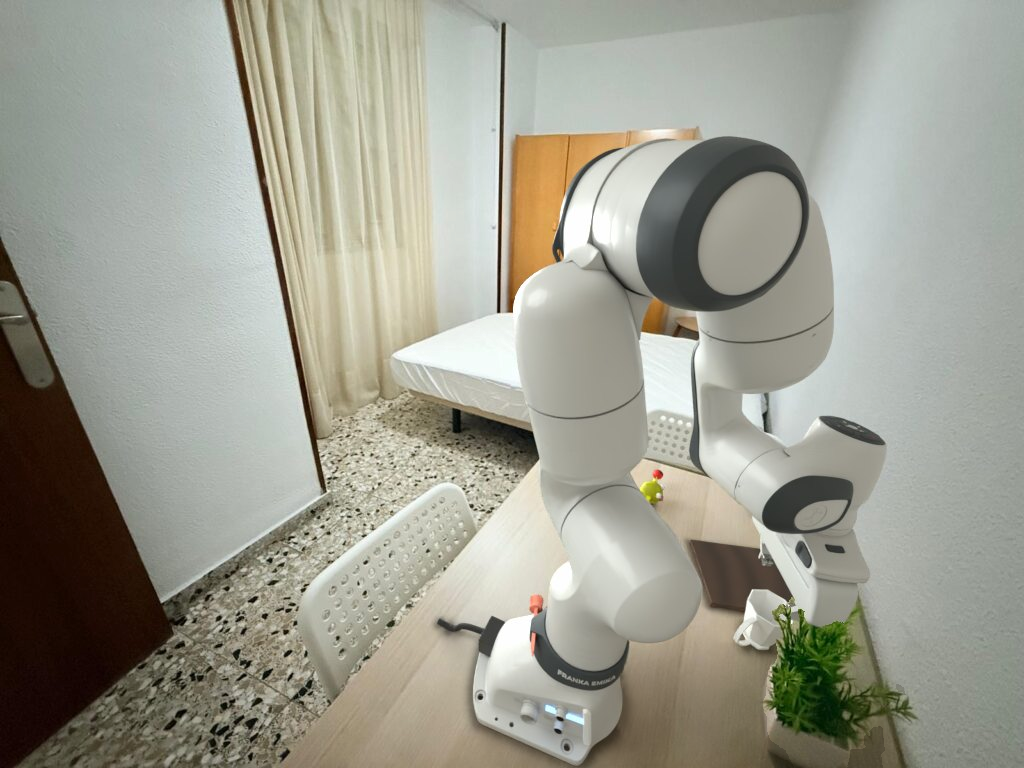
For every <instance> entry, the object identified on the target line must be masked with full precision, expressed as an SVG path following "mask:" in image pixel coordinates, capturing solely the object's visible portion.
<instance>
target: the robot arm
mask: <svg viewBox="0 0 1024 768" xmlns="http://www.w3.org/2000/svg"><path fill="white" fill-rule="evenodd" d="M558 250H559V251H560V254H561V256H562V259H561V256H560V255H559V252H558ZM551 251H552V252H551V253H552V255H553V257H554V260H555V263H552V264H549V265H547V266H545V267H542V268H541V269H539V270H538V271H536V272H534V273H533V274H532V275H531V276H529V278H527V279H526V280H525V281H524V282H523V284H521V286H520V288H519V289H518V291H517V293H516V294H515V299H514V302H513V332H514V347H515V355H516V363H517V369H518V374H519V375H518V376H519V380H520V385H521V391H522V395H523V398H524V402H525V405H526V410H527V413H528V417H529V421H530V425H531V430H532V433H533V437H534V441H535V445H536V449H537V453H538V454H537V455H538V458H539V464H538V467H537V481H538V486H539V490H540V494H541V498H542V503H543V506H544V508H545V511H546V513H547V514H548V516H549V519H550V520H551V522H552V525H553V527H554V529H555V531H556V534H557V535H558V538H559V539H560V541H561V543H562V546H563V548H564V550H565V553H566V556H567V560H568V561H566V562H565V563H563V564H561V566H559V567H558V568H557V569H556V570H555V572H554V573H553V575H552V577H551V579H550V582H549V589H548V595H547V596H548V597H547V606H546V607H544V609H543V606H544V600H545V599H544V597H543V596H542V595H540V594H532V595H531V596H530V598H529V607H528V609H529V612H531V613H532V614H528V615H523V616H518V617H513V618H510V619H508V620H507V621H505V620H502V619H500V618H499V617H496V616H494V615H491V616H490V617H489V619H488V621H487V623H486V624H485V627H482V626H479V625H475V624H472V623H468V622H460V623H458V624H456V625H455V624H452V623H449V622H447V621H446V620H445V619H443V618H438V620H437V623H436V625H438V626H439V627H442V628H443V629H445V630H447V631H450V632H453V633H457V632H460V631H461V630H464V631H469V632H472V633H475V634H478V635H480V636H479V638H478V652H479V653H478V656H477V661H476V665H475V671H474V675H473V684H472V704H473V711H474V714H475V717H476V720H477V721H478V723H479V724H481V725H482V726H484V727H487V728H489V729H491V730H494V731H495V732H498V733H500V734H502V735H504V736H507V737H509V738H512V739H513V740H516V741H518V742H520V743H522V744H525V745H527V746H529V747H532V748H533V749H536V750H538V751H540V752H543V753H545V754H546V755H550V756H552V757H554V758H556V759H558V760H561V761H563V762H565V763H567V764H570V765H571V766H575V767H576V766H577V767H578V766H580V765H581V764H582V763H584V761H585V760H586V758H587V757H588V755H589V753H590V751H591V750H592V748H593V747H594V746H595V745H597V744H599V742H601V741H602V740H604V739H606V738H608V736H609V735H610V734H612V732H613V731H614V729H615V728H616V726H617V725H618V723H619V721H620V718H621V716H622V711H623V706H624V705H623V703H624V702H623V701H624V695H623V689H622V683H621V676H622V674H623V673H624V670H625V667H626V666H625V665H627V663H628V658H629V651H630V642H633V643H638V644H657V643H658V644H659V643H662V642H666V641H669V640H671V639H673V638H675V637H676V636H678V635H680V634H681V633H683V632H684V631H685V630H686V629H687V628H688V627H689V626H690V625H691V623H692V622H693V620H694V619H695V617H696V615H697V613H698V611H699V609H700V605H701V602H702V597H703V589H704V586H703V583H702V580H701V577H700V574H698V573H699V572H698V570H696V567H695V566H694V564H693V561H692V560H691V558H690V556H689V554H688V552H687V551H686V548H685V547H684V545H683V543H682V541H681V540H680V537H678V535H677V534H676V533H675V531H674V530H673V529H672V528H671V526H669V524H668V523H667V522H666V520H665V519H664V518H663V517H662V515H660V514H659V512H658V511H657V510H656V508H655V507H654V506H653V505H651V504H650V503H649V501H648V500H647V499H646V498H645V497H644V495H643V493H642V492H641V491H640V488H639V486H638V485H637V483H636V481H635V479H634V477H633V476H632V474H631V472H632V471H633V470H634V469H635V468H636V467H637V466H638V465H639V464H640V463H641V462H642V460H643V459H644V458H645V457H646V454H647V452H648V448H649V443H650V441H649V439H650V438H649V426H648V413H647V400H646V399H647V398H646V388H645V387H646V386H645V374H644V366H643V358H642V351H641V344H640V341H641V336H642V329H643V324H644V320H645V318H646V314H647V312H648V309H649V307H650V306H651V303H652V301H653V300H654V299H657V300H658V301H660V302H661V303H663V304H665V305H667V306H669V307H672V308H675V309H679V310H683V311H684V310H685V311H691V312H695V316H696V322H697V323H696V324H697V328H698V335H699V338H698V339H697V341H696V342H695V344H694V347H693V349H692V352H691V359H690V377H691V378H690V382H691V398H692V410H693V411H692V412H693V427H692V432H691V436H690V440H689V447H688V449H689V450H688V452H689V453H688V454H689V458H690V461H691V463H692V465H693V466H694V467H695V468H696V469H698V470H699V471H700V472H702V473H703V474H705V476H707V477H708V478H709V479H710V480H712V481H714V483H716V484H717V485H718V486H719V487H720V488H721V489H722V490H723V491H724V492H725V493H726V494H727V495H729V496H730V497H731V498H732V500H734V501H735V502H736V503H737V504H738V505H739V506H741V507H742V508H743V509H744V510H745V511H746V512H747V513H749V514H750V515H751V520H752V523H753V525H754V527H755V528H756V530H757V531H758V534H759V536H760V537H759V549H760V550H761V551H760V554H759V556H758V558H759V560H760V561H761V563H762V565H763V566H766V565H767V566H773V564H774V562H775V564H776V566H777V568H778V569H779V571H780V573H781V575H782V577H783V579H784V581H785V582H786V584H787V586H788V588H789V590H790V592H791V594H792V595H793V597H794V599H795V601H794V603H795V604H793V603H787V604H786V607H785V608H786V609H788V608H789V606H790V607H791V620H794V622H800V619H799V615H798V609H802V610H803V611H805V612H804V618H805V620H806V621H805V622H806V623H807V624H808V625H810V626H813V627H817V628H822V626H825V625H829V624H832V623H833V622H836V621H838V622H841V623H842V622H843V623H844V624H845V623H846V622H847V621H848V619H849V617H850V616H851V614H852V613H853V610H854V608H855V606H856V603H857V602H858V598H859V586H858V584H866V583H868V582H869V580H870V578H871V570H870V568H869V567H868V563H867V561H866V560H865V558H864V555H863V553H862V551H861V548H860V546H859V542H858V539H857V535H856V532H855V530H854V529H853V528H854V526H855V525H856V523H857V520H858V511H859V508H860V507H862V505H863V504H865V503H866V502H867V501H868V500H869V499H870V497H871V495H872V493H873V492H874V489H875V488H876V485H877V483H878V481H879V479H880V476H881V473H882V470H883V467H884V464H885V461H886V458H887V457H886V456H887V452H888V451H887V450H888V449H887V448H888V445H887V443H886V441H885V440H884V439H883V438H882V437H881V436H880V435H879V434H877V433H876V432H874V431H872V430H871V429H869V428H867V427H865V426H863V425H861V424H859V423H857V422H855V421H851V420H848V419H846V418H843V417H840V416H835V415H820V416H817V417H816V418H815V420H814V421H812V423H811V425H810V426H809V428H808V429H807V431H806V432H805V434H804V436H803V438H802V439H801V440H800V441H799V442H798V443H796V444H795V443H794V445H791V446H788V447H787V446H786V445H784V444H782V443H781V442H780V441H778V440H777V439H775V438H773V437H772V436H770V435H769V434H767V433H766V432H765V431H763V430H762V429H760V428H759V427H758V426H757V425H756V424H754V423H753V422H752V421H751V420H749V419H748V417H747V416H746V415H745V414H744V412H743V398H744V397H743V395H759V394H768V393H773V392H777V391H780V390H784V389H787V388H789V387H792V386H795V385H796V384H798V383H800V382H802V381H803V380H805V379H807V378H808V377H810V376H812V374H813V373H814V372H815V371H816V370H818V368H819V367H820V366H822V364H823V363H824V361H825V360H826V358H827V357H828V354H829V352H830V349H831V345H832V342H833V338H834V337H833V336H834V330H835V287H834V285H835V283H834V272H833V271H834V270H833V262H832V257H831V256H832V255H831V249H830V244H829V240H828V235H827V230H826V227H825V223H824V219H823V216H822V211H821V208H820V206H819V203H818V202H817V201H816V199H815V198H814V197H813V196H812V195H811V193H809V192H808V188H807V185H806V182H805V178H804V177H803V174H802V172H801V170H800V168H799V167H798V165H797V164H796V162H795V161H794V160H793V158H791V156H790V155H789V154H788V153H786V152H784V151H783V150H782V149H781V148H779V147H777V146H775V145H773V144H770V143H767V142H764V141H761V140H757V139H752V138H747V137H741V136H732V135H725V136H717V137H716V136H715V137H712V138H709V139H676V138H667V137H666V138H656V139H652V140H651V139H650V140H645V141H642V142H639V143H635V144H632V145H629V146H625V147H616V148H612V149H609V150H606V151H604V152H602V153H600V154H599V155H596V156H595V157H593V158H591V160H589V161H587V162H586V163H585V164H584V165H583V166H581V168H580V169H579V170H578V171H577V172H576V173H575V175H574V176H573V177H572V179H571V181H570V183H569V184H568V186H567V188H566V190H565V194H564V196H563V199H562V204H561V207H560V213H559V222H558V225H557V228H556V232H555V235H554V239H553V242H552V245H551ZM479 697H482V699H479ZM565 747H568V749H569V750H566V749H565Z"/></svg>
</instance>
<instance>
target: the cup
mask: <svg viewBox="0 0 1024 768" xmlns="http://www.w3.org/2000/svg"><path fill="white" fill-rule="evenodd" d="M780 604H784V605H785V606H786V604H787V602H786V600H784V599H783V598H781V597H779V596H778V595H776V594H774V593H772V592H771V591H769V590H756V589H752V591H751V593H750V595H749V597H748V599H747V604H746V610H745V612H744V615H743V622H742V623H741V624H740V625H739V627H738V628H737V629H736V631H735V633H734V635H733V638H732V639H733V640H732V641H734V642H735V643H736V645H738V646H739V647H746V646H752V647H753V648H755V649H756V650H759V651H768V650H769V649H770V647H771V646H773V645H775V644H776V643H777V642H776V639H777V638H779V639H781V638H783V636H782V632H781V629H780V626H779V625H778V623H777V622H776V621H775V620H774V618H773V615H772V611H773V610H775V609H777V608H778V606H779V605H780ZM779 616H780V618H781V619H782V620H784V621H785V620H786V617H785V616H784V615H783V614H780V615H779ZM794 622H795V621H794V620H791V624H792V626H793V625H794ZM742 635H743V637H744V639H743V640H740V638H741V637H742Z"/></svg>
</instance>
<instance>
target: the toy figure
mask: <svg viewBox="0 0 1024 768" xmlns="http://www.w3.org/2000/svg"><path fill="white" fill-rule="evenodd" d="M652 477H653V479H652V480H647V481H644V482H643V483H642V484H641V486H640V488H639V489H640V491H641V492H642V493H643V495H644V497H645V498H646V499H647V500H648V501H649V503H650V504H651V505H652V506H653V505H654V504H657V503H659V502H663V501H664V490H665V487H666V486H665V485H664V484H660V483H658V481H659V480H661V479H662V478H663V477H664V473H663V471H662V470H660V469H654V470H653V472H652Z"/></svg>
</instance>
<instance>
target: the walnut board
mask: <svg viewBox="0 0 1024 768" xmlns="http://www.w3.org/2000/svg"><path fill="white" fill-rule="evenodd" d="M689 546H690V549H691V552H692V555H693V558H694V561H695V564H696V567H697V571H698V573H699V577H700V579H701V581H702V586H703V589H704V591H705V595H706V597H707V601H708V604H709V607H711V608H717V609H723V610H724V609H725V610H730V611H737V612H744V613H745V610H746V604H747V599H748V597H749V595H750V593H751V591H752V589H756V590H769V591H771V592H772V593H774V594H776V595H778V596H779V597H781V598H783V599H784V600H786V602H787V603H788V602H789V600H790V599H791V597H793V595H792V594H791V592H790V590H789V588H788V586H787V584H786V582H785V581H784V579H783V577H782V575H781V573H780V571H779V569H778V568H777V566H776V564H775V562H774V564H773V566H767V565H766V566H763V565H762V563H761V561H760V560H759V558H758V556H759V554H760V551H761V550H760V547H759V548H757V547H751V546H743V545H737V544H736V545H735V544H728V543H722V542H721V543H719V542H713V541H704V540H697V539H690V541H689Z"/></svg>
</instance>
